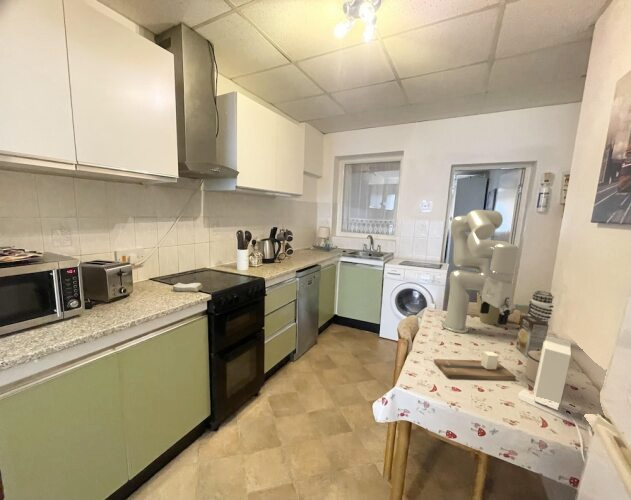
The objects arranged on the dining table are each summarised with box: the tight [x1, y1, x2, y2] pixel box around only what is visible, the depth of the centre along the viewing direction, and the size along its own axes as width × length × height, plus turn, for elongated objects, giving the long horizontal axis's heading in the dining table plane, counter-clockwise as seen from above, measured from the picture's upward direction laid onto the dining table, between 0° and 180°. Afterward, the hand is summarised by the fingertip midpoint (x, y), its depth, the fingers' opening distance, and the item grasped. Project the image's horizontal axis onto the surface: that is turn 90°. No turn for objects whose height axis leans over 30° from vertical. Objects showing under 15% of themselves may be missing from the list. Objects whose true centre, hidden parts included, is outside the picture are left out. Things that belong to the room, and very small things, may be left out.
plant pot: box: [476, 291, 505, 326], centre depth 151 cm, size 15×15×16 cm
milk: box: [532, 335, 572, 405], centre depth 84 cm, size 6×6×22 cm
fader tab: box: [480, 351, 500, 369], centre depth 101 cm, size 3×4×6 cm
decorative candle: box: [527, 290, 555, 325], centre depth 131 cm, size 9×9×25 cm
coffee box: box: [515, 315, 550, 358], centre depth 117 cm, size 9×6×16 cm
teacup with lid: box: [524, 350, 542, 383], centre depth 99 cm, size 12×9×12 cm
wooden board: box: [433, 358, 517, 381], centre depth 101 cm, size 10×26×2 cm, turn 93°
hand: (492, 318), depth 102 cm, fingers open, 9 cm apart
